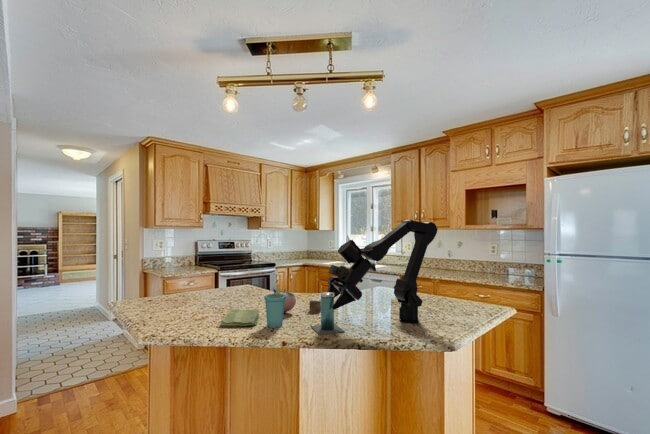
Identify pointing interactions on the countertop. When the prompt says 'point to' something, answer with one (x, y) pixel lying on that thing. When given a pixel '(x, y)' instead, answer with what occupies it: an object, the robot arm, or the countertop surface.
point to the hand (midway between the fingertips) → (328, 305)
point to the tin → (327, 311)
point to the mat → (323, 332)
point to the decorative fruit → (288, 300)
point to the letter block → (315, 305)
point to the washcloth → (240, 318)
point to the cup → (275, 307)
